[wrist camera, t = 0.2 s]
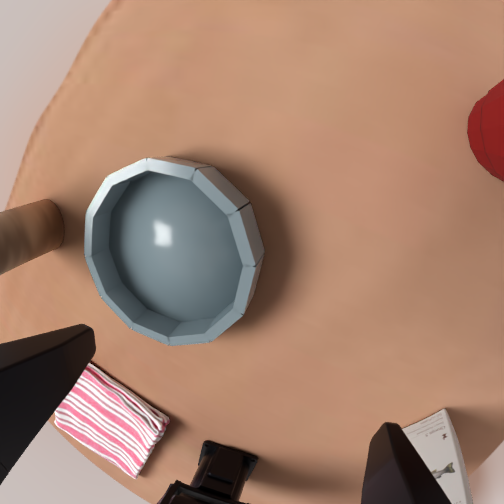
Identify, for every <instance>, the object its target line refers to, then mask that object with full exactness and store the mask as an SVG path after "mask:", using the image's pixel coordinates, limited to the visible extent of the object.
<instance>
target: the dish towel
mask: <svg viewBox="0 0 504 504" xmlns="http://www.w3.org/2000/svg"><path fill="white" fill-rule="evenodd" d="M55 416H56V420H55V421H54V423H55V424H56V425H57V426H58V427H59V428H60V429H62V430H64V431H66V432H67V433H68V434H70V435H71V436H72V437H73V438H75V439H76V440H78V441H79V442H80V443H81V444H83V445H84V446H86V447H88V448H89V449H90V450H92V451H93V452H95V453H97V454H98V455H100V456H102V457H103V458H105V459H106V460H108V461H109V462H111V463H113V464H114V465H116V466H117V467H119V468H120V469H121V470H123V471H124V472H125V473H127V474H128V475H129V476H131V477H133V478H135V479H137V478H138V475H139V473H140V472H141V469H142V468H143V466H144V464H145V462H146V460H147V459H148V456H149V455H150V454H151V453H152V450H153V449H154V445H155V444H156V443H157V442H158V441H159V440H160V439H161V437H162V436H163V435H164V431H165V430H166V425H167V424H168V423H169V422H170V419H169V417H167V416H166V415H164V414H163V413H161V412H160V411H158V410H157V409H155V408H153V407H151V406H150V405H149V404H147V403H146V402H145V401H143V400H142V399H141V398H139V397H138V396H137V395H135V394H134V393H133V392H131V391H130V390H128V389H127V388H126V387H124V386H123V385H121V384H120V383H118V382H117V381H115V380H113V379H112V378H110V377H109V376H108V375H106V374H105V373H103V372H102V371H101V370H99V369H98V368H97V367H95V366H94V365H92V364H90V363H89V364H88V365H87V367H86V368H85V370H84V371H83V373H82V375H81V376H80V378H79V379H78V381H77V383H76V384H75V386H74V387H73V389H72V390H71V391H70V393H69V394H68V395H67V396H66V398H65V399H64V400H63V401H62V403H61V404H60V405H59V406H58V408H57V409H56V410H55Z"/></svg>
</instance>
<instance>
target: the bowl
mask: <svg viewBox="0 0 504 504" xmlns="http://www.w3.org/2000/svg"><path fill="white" fill-rule="evenodd" d="M249 202H250V201H249V200H248V199H247V198H246V197H245V196H244V195H243V194H242V193H241V192H240V191H239V190H238V189H237V188H236V187H235V186H234V185H233V184H232V183H230V182H229V181H228V180H227V179H226V178H225V177H224V176H223V175H222V174H221V173H220V172H219V171H218V170H217V169H216V168H215V167H212V165H207V164H203V163H198V162H194V161H189V160H184V159H179V158H175V157H170V156H166V157H152V158H145V159H142V160H140V161H138V162H136V163H133V164H131V165H129V166H127V167H125V168H123V169H121V170H119V171H116V172H114V173H112V174H110V175H108V177H106V178H105V180H104V182H103V183H102V185H101V187H100V188H99V190H98V192H97V194H96V195H95V197H94V199H93V200H92V202H91V204H90V206H89V208H88V209H87V211H86V212H87V213H86V216H85V241H84V255H85V259H86V262H87V265H88V267H89V270H90V273H91V275H92V278H93V280H94V283H95V285H96V288H97V290H98V292H99V295H100V296H102V297H101V298H102V299H103V301H104V302H105V303H106V304H107V305H108V306H109V307H110V308H111V309H112V310H113V311H114V312H115V313H116V314H117V316H118V317H119V318H120V319H121V320H122V321H123V322H124V323H125V324H126V325H127V326H128V327H129V328H131V327H132V330H134V331H136V332H138V333H140V334H143V335H145V336H147V337H150V338H152V339H154V340H157V341H159V342H162V343H164V344H166V345H170V346H175V345H188V344H199V343H209V342H210V341H211V342H212V341H213V340H214V339H215V338H217V337H218V336H219V335H220V334H221V333H223V332H224V331H225V330H226V329H228V328H229V327H230V326H231V325H232V324H234V323H235V322H236V321H237V320H238V319H240V318H241V317H242V316H243V314H244V313H245V311H246V309H247V307H248V305H249V303H250V301H251V299H252V298H253V296H254V292H255V288H256V285H257V281H258V277H259V273H260V269H261V266H262V262H263V258H264V254H265V253H264V251H265V250H264V246H263V243H262V239H261V236H260V232H259V229H258V226H257V222H256V219H255V216H254V212H253V209H252V205H251V203H249ZM248 203H249V204H248Z"/></svg>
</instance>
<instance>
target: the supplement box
mask: <svg viewBox="0 0 504 504" xmlns="http://www.w3.org/2000/svg"><path fill="white" fill-rule="evenodd" d="M402 430H403V431H404V433H405V434H406V436H407V437H408V439H409V440H410V442H411V443H412V445H413V446H414V448H415V449H416V451H417V452H418V454H419V455H420V456H421V458H422V459H423V461H424V462H425V464H426V465H427V467H428V468H429V470H430V471H431V473H432V474H433V476H434V477H435V479H436V480H437V482H438V483H439V485H440V486H441V488H442V489H443V491H444V492H445V494H446V495H447V497H448V498H449V500H450V502H451V503H452V504H473V500H472V495H471V490H470V485H469V481H468V476H467V472H466V468H465V464H464V460H463V456H462V452H461V448H460V444H459V441H458V438H457V435H456V432H455V430H454V427H453V425H452V422H451V420H450V418H449V415H448V413H447V411H446V409H445V408H444V409H442V410H441V411H439V412H437V413H435V414H433V415H431V416H430V417H428V418H426V419H423V420H421V421H419V422H417V423H415V424H413V425H410V426H408V427H406V428H403V429H402Z"/></svg>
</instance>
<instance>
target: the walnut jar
mask: <svg viewBox="0 0 504 504" xmlns="http://www.w3.org/2000/svg"><path fill="white" fill-rule="evenodd" d="M63 238H64V223H63V219H62V215H61V213H60V211H59V209H58V207H57V206H56V205H55V204H54V203H53V202H52V201H50V200H41V201H37V202H34V203H30V204H27V205H23V206H20V207H16V208H13V209H9V210H6V211H3V212H0V275H1V274H3V273H5V272H7V271H9V270H11V269H13V268H15V267H17V266H20V265H22V264H24V263H26V262H28V261H30V260H32V259H34V258H37V257H39V256H41V255H43V254H45V253H48V252H50V251H52V250H54V249H56V248H58V247H59V246H60V245H61V243H62V241H63Z"/></svg>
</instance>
